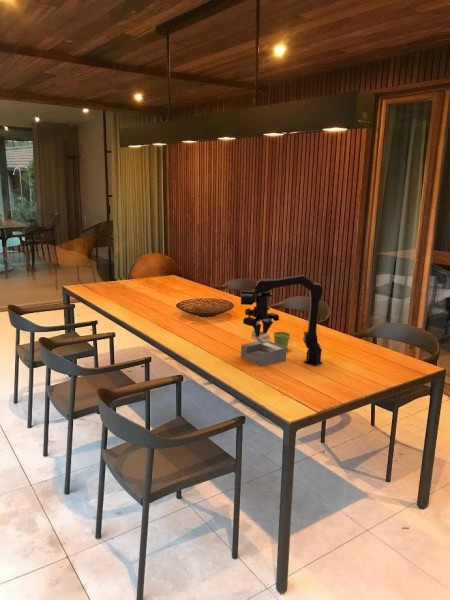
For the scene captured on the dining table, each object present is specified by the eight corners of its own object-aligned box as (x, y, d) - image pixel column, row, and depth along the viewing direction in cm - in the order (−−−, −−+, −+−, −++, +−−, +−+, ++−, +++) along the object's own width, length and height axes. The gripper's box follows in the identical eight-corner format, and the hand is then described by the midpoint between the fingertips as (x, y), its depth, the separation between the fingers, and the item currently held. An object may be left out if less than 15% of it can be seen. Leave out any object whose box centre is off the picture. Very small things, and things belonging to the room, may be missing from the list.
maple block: (269, 341, 232) (269, 334, 232) (263, 343, 230) (263, 336, 229) (257, 336, 239) (257, 330, 238) (251, 338, 237) (251, 331, 236)
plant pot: (292, 349, 256) (293, 333, 254) (285, 354, 248) (286, 338, 246) (276, 345, 260) (277, 330, 258) (269, 350, 252) (270, 334, 250)
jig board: (286, 360, 239) (286, 347, 237) (261, 366, 229) (262, 353, 228) (264, 351, 251) (265, 339, 249) (240, 357, 241) (241, 344, 240)
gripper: (265, 299, 242) (263, 329, 246) (236, 304, 231) (235, 335, 235) (280, 303, 234) (279, 334, 237) (251, 309, 222) (250, 341, 226)
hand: (260, 336), depth 234 cm, fingers closed on maple block, 4 cm apart
